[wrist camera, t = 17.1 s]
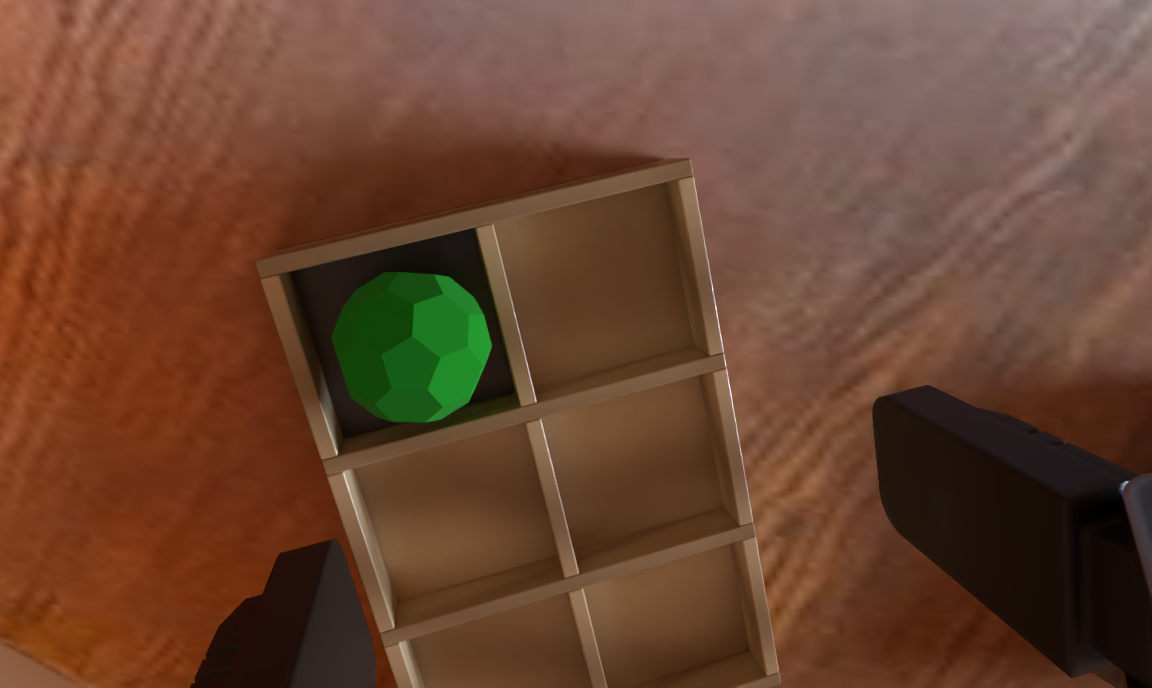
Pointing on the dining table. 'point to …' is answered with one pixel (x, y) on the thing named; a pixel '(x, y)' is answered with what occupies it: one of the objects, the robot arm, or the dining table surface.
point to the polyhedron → (411, 346)
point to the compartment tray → (547, 447)
